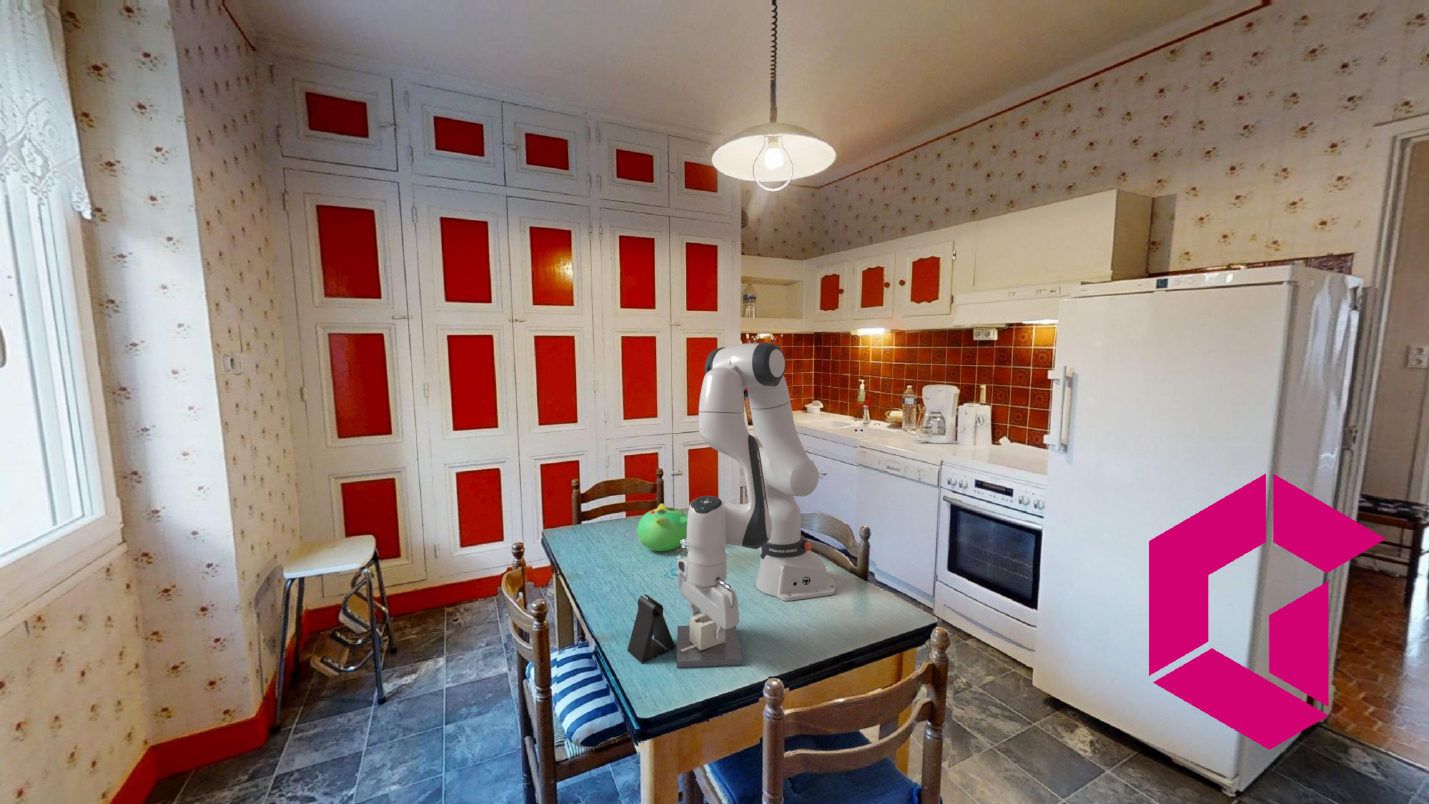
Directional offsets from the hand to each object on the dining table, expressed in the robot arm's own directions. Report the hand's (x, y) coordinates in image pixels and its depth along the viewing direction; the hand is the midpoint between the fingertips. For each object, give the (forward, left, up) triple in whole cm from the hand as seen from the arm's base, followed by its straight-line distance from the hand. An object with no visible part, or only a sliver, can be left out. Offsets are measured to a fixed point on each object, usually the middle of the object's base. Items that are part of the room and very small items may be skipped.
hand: (707, 628), depth 117 cm
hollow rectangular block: (0, 0, -3) cm, 3 cm away
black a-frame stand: (+13, 0, -5) cm, 14 cm away
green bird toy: (+12, -58, -5) cm, 59 cm away
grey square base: (0, 0, -5) cm, 5 cm away
